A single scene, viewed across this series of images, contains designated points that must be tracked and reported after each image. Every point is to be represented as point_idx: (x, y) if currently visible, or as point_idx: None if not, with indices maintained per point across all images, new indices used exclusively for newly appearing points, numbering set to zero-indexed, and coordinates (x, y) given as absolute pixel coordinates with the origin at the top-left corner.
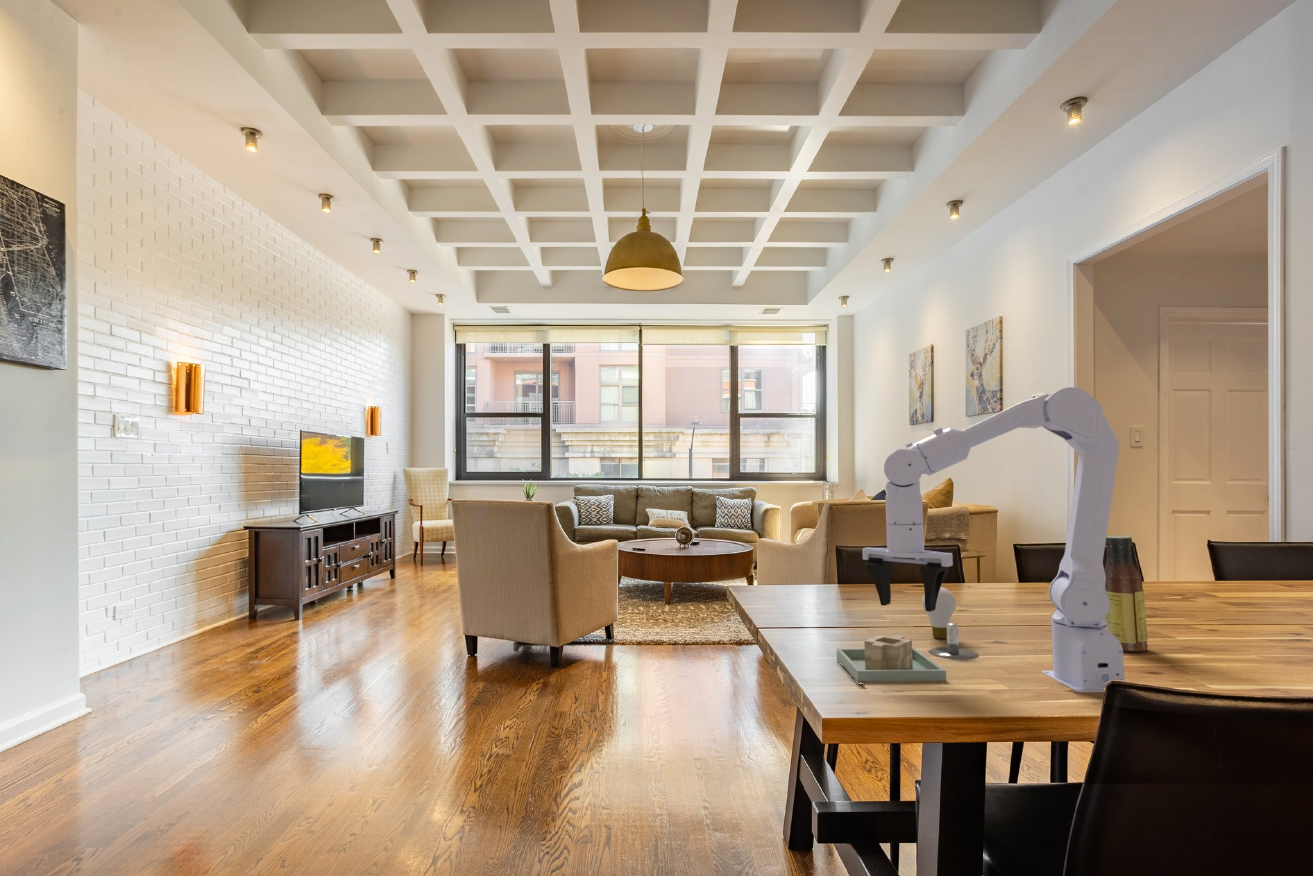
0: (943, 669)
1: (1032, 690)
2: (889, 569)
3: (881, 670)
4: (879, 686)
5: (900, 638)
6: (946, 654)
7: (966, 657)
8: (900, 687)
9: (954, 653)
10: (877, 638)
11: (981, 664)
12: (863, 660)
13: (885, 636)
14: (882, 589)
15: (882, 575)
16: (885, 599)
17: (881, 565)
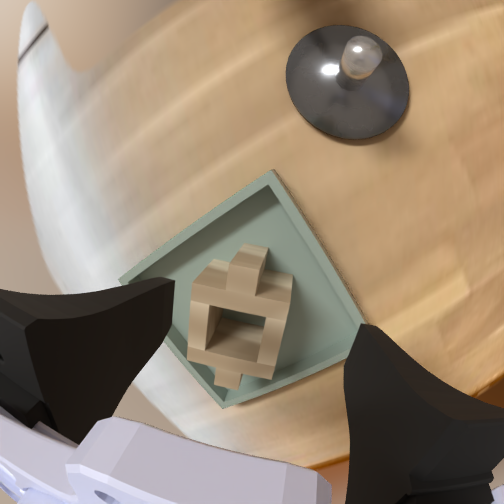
0: None
1: (498, 282)
2: (78, 348)
3: (257, 393)
4: None
5: (256, 299)
6: (338, 100)
7: (388, 107)
8: None
9: (356, 89)
10: (202, 325)
11: (420, 128)
12: (178, 267)
13: (211, 294)
14: (139, 367)
15: (103, 400)
16: (162, 328)
17: (76, 443)
